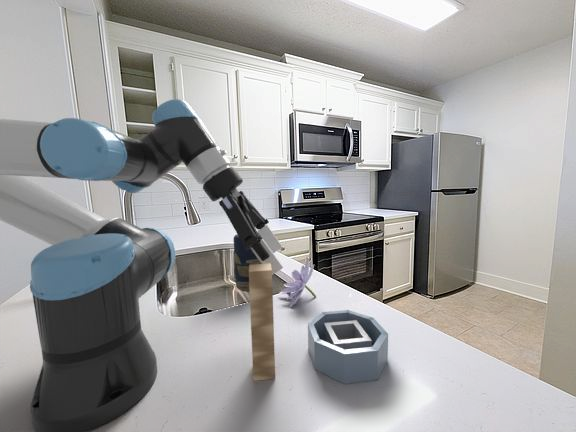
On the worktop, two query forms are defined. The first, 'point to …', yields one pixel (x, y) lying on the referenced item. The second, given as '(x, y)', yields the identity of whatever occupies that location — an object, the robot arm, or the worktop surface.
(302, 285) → the water lily
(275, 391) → the worktop surface
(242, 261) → the canister
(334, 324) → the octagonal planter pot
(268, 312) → the square wooden post
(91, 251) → the robot arm
